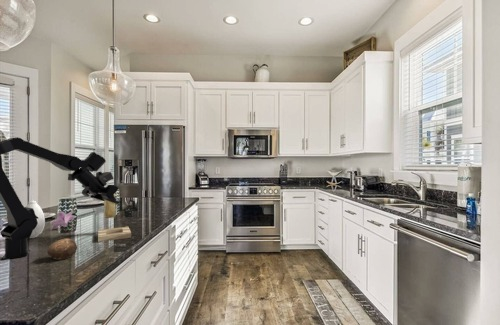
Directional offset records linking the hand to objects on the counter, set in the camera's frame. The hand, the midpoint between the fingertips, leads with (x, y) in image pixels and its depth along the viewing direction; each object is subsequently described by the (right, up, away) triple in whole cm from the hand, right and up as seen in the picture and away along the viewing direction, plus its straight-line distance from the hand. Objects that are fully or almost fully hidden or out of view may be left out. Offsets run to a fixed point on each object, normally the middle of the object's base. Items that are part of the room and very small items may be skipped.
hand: (112, 202), depth 119 cm
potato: (0, -14, -32) cm, 35 cm away
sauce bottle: (-29, -14, -10) cm, 33 cm away
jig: (+5, -13, -8) cm, 16 cm away
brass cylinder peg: (-1, -7, -1) cm, 7 cm away
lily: (-26, -14, +5) cm, 30 cm away
